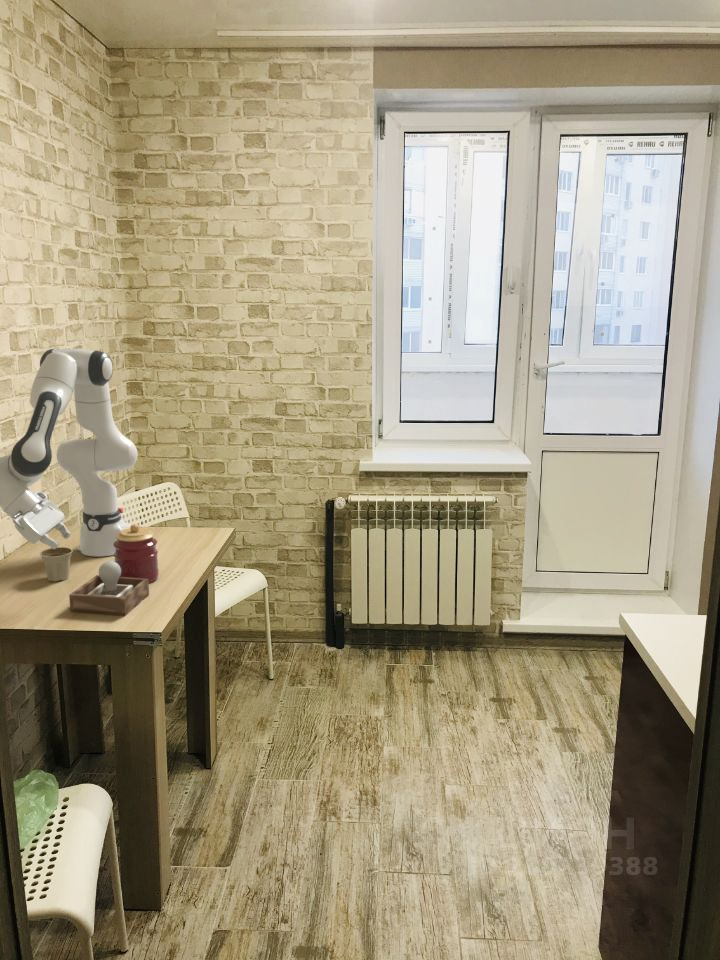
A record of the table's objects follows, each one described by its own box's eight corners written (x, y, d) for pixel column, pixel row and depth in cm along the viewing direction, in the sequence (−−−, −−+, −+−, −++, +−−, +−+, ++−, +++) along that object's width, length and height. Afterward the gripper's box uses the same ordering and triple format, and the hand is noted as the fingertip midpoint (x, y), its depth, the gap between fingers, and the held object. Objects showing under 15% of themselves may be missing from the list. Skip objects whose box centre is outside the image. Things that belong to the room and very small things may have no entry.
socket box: (97, 591, 231) (96, 575, 230) (149, 594, 229) (148, 578, 228) (70, 611, 216) (69, 594, 215) (125, 616, 214) (124, 598, 213)
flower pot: (38, 584, 236) (36, 557, 234) (45, 573, 245) (43, 547, 243) (71, 583, 238) (69, 556, 236) (77, 572, 247) (75, 546, 245)
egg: (110, 593, 228) (108, 557, 225) (127, 596, 225) (125, 560, 223) (95, 599, 222) (93, 563, 220) (112, 603, 220) (110, 566, 217)
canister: (114, 588, 234) (111, 531, 230) (115, 573, 246) (112, 519, 242) (159, 584, 238) (157, 528, 234) (158, 570, 250) (156, 517, 246)
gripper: (17, 509, 205) (57, 545, 208) (45, 491, 225) (82, 524, 228) (1, 526, 206) (42, 561, 208) (31, 506, 226) (67, 538, 228)
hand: (63, 541), depth 218 cm, fingers open, 8 cm apart
